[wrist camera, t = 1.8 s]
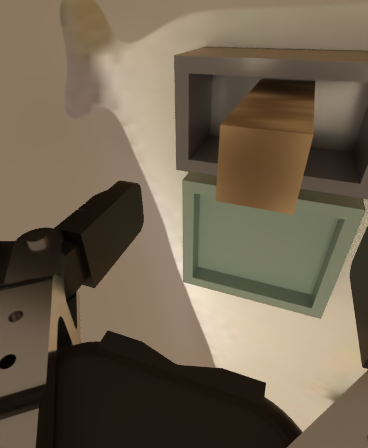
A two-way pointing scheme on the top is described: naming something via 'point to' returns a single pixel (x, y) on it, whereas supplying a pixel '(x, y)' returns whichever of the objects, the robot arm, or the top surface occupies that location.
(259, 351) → the top surface
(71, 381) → the robot arm
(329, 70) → the grey open box
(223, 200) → the oak post
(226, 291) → the green tray
